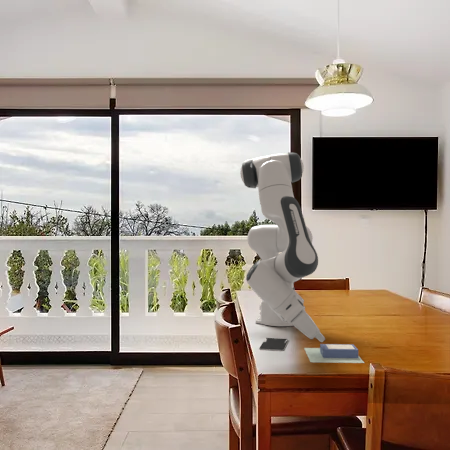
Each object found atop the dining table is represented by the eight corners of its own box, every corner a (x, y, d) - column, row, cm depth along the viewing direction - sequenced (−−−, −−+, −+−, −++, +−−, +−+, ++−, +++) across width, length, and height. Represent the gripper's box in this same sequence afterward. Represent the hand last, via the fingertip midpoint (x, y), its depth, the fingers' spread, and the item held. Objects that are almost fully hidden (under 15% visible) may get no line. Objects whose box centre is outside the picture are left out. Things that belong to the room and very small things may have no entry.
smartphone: (258, 348, 152) (266, 337, 167) (258, 353, 152) (266, 341, 167) (283, 350, 150) (288, 338, 165) (283, 354, 150) (288, 342, 165)
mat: (303, 349, 154) (303, 347, 154) (352, 349, 153) (352, 348, 153) (310, 363, 138) (310, 362, 138) (364, 364, 137) (364, 362, 137)
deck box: (320, 343, 149) (353, 344, 149) (320, 351, 149) (353, 352, 149) (323, 349, 143) (358, 349, 142) (323, 357, 143) (358, 358, 142)
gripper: (279, 308, 157) (310, 339, 156) (284, 320, 136) (320, 356, 136) (293, 294, 157) (324, 325, 156) (300, 304, 136) (336, 340, 136)
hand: (322, 339), depth 146 cm, fingers closed
